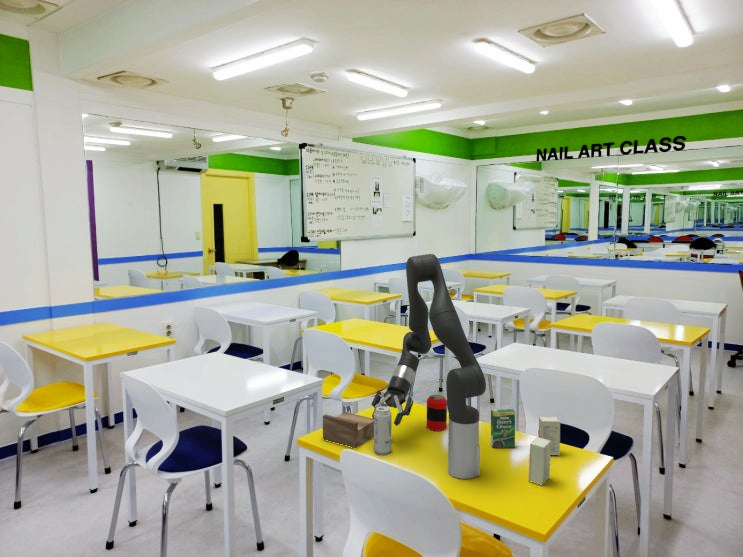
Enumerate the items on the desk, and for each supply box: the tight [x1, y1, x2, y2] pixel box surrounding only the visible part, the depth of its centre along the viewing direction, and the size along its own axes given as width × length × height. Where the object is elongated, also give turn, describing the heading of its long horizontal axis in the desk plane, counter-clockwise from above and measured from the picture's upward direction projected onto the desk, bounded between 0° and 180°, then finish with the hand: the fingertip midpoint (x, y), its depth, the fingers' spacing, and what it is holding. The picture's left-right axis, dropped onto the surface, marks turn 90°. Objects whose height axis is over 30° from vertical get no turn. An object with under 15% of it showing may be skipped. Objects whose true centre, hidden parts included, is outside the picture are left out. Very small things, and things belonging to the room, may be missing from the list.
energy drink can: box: [373, 406, 393, 456], centre depth 174 cm, size 6×6×15 cm
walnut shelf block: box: [322, 411, 374, 449], centre depth 186 cm, size 14×14×9 cm
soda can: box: [426, 394, 448, 432], centre depth 195 cm, size 8×8×12 cm
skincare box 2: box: [528, 436, 551, 485], centre depth 155 cm, size 6×4×12 cm
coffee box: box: [490, 408, 516, 449], centre depth 178 cm, size 8×3×13 cm, turn 90°
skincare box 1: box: [538, 416, 561, 455], centre depth 173 cm, size 6×4×12 cm
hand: (384, 422), depth 175 cm, fingers open, 8 cm apart
